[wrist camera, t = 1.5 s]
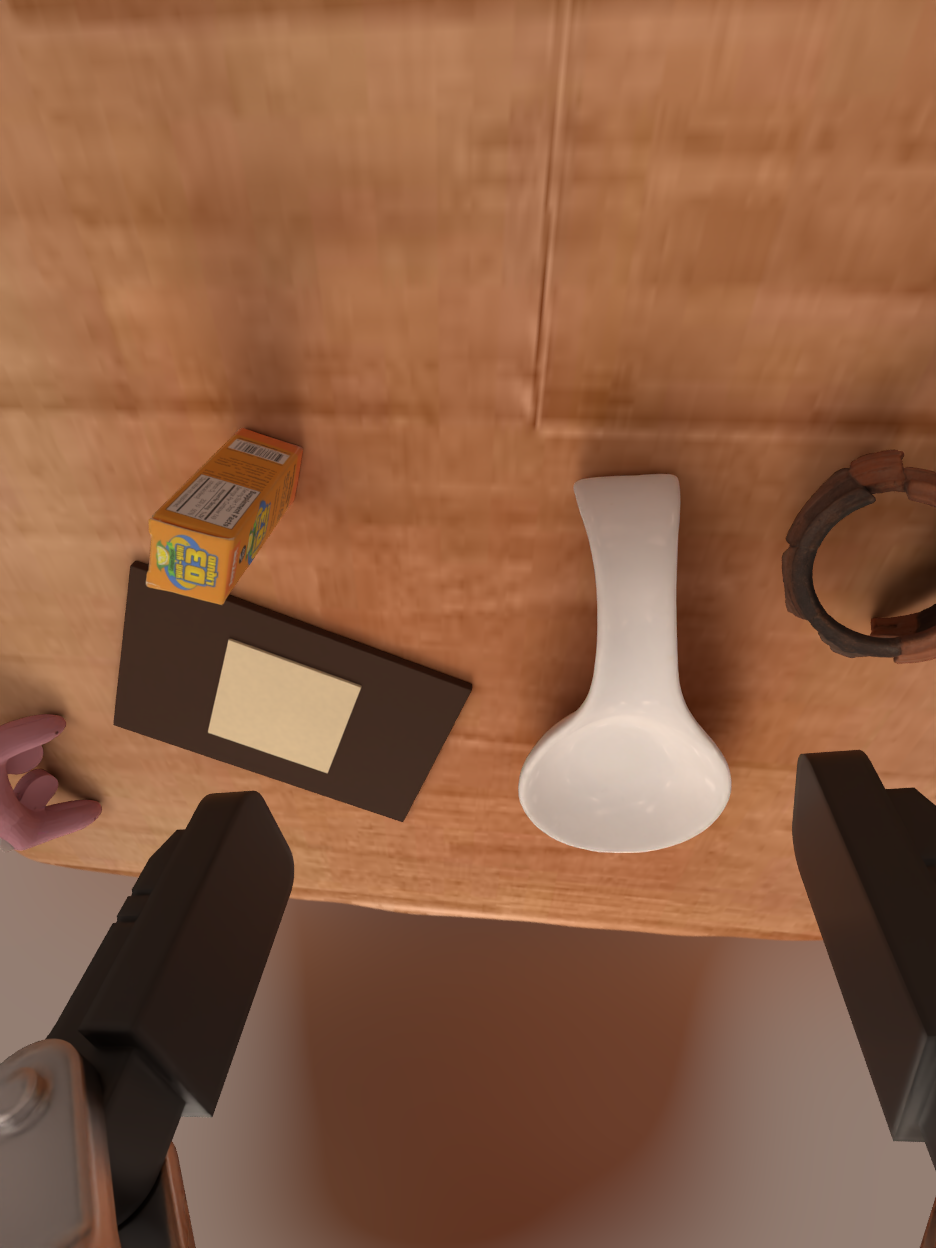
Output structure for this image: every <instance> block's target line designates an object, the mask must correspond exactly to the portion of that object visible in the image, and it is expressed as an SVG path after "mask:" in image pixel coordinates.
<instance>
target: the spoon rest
mask: <svg viewBox="0 0 936 1248" xmlns="http://www.w3.org/2000/svg"><path fill="white" fill-rule="evenodd" d="M574 492H575V496H576V500H577V503H578V507H579V510H580V513H581V516H582V519H583V522H584V525H585V528H586V531H587V535H588V539H589V543H590V547H591V552H592V558H593V564H594V571H595V580H596V589H597V647H596V659H595V668H594V674H593V679H592V684H591V687H590V690H589V693H588V695H587V697H586V699H585V701H584V702H583V704H582V705H581V706H580V708H579V709H578V710H576V711H575V712H573V713H571V714H570V715H568V716H566V717H565V718H563V719H562V720H560V721H559V722H557V723H556V724H555V725H554V726H553V727H551V728H550V729H549V730H548V731H547V732H546V733H545V734H544V735H543V736H542V737H541V739H540V740H539V741H538V742H537V743H536V745H535V746H534V747H533V749H532V750H531V752H530V753H529V755H528V757H527V758H526V760H525V762H524V765H523V767H522V770H521V773H520V778H519V785H518V792H519V799H520V803H521V805H522V807H523V809H524V811H525V813H526V814H527V816H528V817H529V819H530V820H531V821H532V822H533V823H534V824H535V825H536V826H537V827H538V828H539V829H540V830H542V831H543V832H544V833H546V834H547V835H549V836H550V837H552V838H554V839H556V840H558V841H560V842H562V843H565V844H567V845H570V846H573V847H577V848H582V849H586V850H590V851H598V852H612V853H636V852H647V851H653V850H658V849H662V848H666V847H670V846H673V845H676V844H679V843H682V842H684V841H687V840H689V839H691V838H693V837H694V836H696V835H698V834H700V833H701V832H702V831H704V830H705V829H707V828H708V827H709V826H710V825H711V824H712V823H713V822H714V821H715V820H716V819H717V818H718V817H719V815H720V814H721V813H722V811H723V810H724V808H725V806H726V804H727V802H728V800H729V797H730V793H731V775H730V770H729V767H728V764H727V762H726V759H725V757H724V756H723V754H722V752H721V751H720V749H719V748H718V747H717V745H716V744H715V743H714V741H713V740H712V739H711V738H710V737H709V735H708V734H707V733H706V732H705V731H704V730H703V729H702V727H701V726H700V725H699V724H698V722H697V721H696V720H695V718H694V717H693V715H692V714H691V712H690V711H689V709H688V707H687V705H686V703H685V700H684V698H683V695H682V691H681V687H680V682H679V673H678V652H677V608H676V582H677V554H678V531H679V524H680V504H681V502H680V486H679V480H678V478H677V477H676V476H675V475H671V474H647V475H630V476H606V477H594V478H586V479H581V480H579V481H576V482H575V484H574Z"/></svg>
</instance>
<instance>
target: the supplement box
mask: <svg viewBox="0 0 936 1248" xmlns="http://www.w3.org/2000/svg"><path fill="white" fill-rule="evenodd" d="M302 453H303V448H302V447H300V446H297V445H293V444H290V443H287V442H284V441H281V440H278V439H274V438H271V437H268V436H265V435H262V434H259V433H256V432H253V431H250V430H247V429H244V428H241V429H239V430H238V431H237V432H236V433H235V434H234V435H233V436H232V437H231V438H230V439H229V440H228V441H227V442H226V443H225V444H224V445H223V446H222V447H221V448H220V449H219V450H218V451H217V452H216V453H215V454H214V455H213V456H212V457H211V458H210V459H209V460H208V461H207V462H206V463H205V464H204V465H203V466H202V467H201V468H200V469H199V470H198V471H197V472H196V473H195V474H194V475H193V476H192V477H191V478H190V479H189V480H188V481H187V482H186V483H185V484H184V485H183V486H182V487H181V488H180V489H179V490H178V491H177V492H176V493H175V494H174V495H173V496H172V497H171V498H170V499H168V500H167V501H166V502H165V503H164V504H163V505H162V506H161V507H160V508H159V509H158V510H157V511H156V512H155V513H154V514H153V516H152V518H150V519H149V533H150V534H151V546H150V558H149V570H148V572H147V578H146V585H147V587H150V588H154V589H159V590H164V591H169V592H174V593H177V594H181V595H185V596H189V597H193V598H196V599H200V600H204V601H208V602H212V603H216V604H220V605H222V604H224V602H225V600H226V598H227V597H228V595H229V594H230V592H231V591H232V589H233V588H234V586H235V585H236V583H237V582H238V580H239V579H240V577H241V576H242V575H243V573H244V572H245V570H246V569H247V568H248V566H249V565H250V564H251V562H252V561H253V559H254V558H255V556H256V555H257V553H258V552H259V550H260V549H261V547H262V546H263V544H264V543H265V541H266V540H267V538H268V537H269V536H270V534H271V533H272V531H273V530H274V528H275V527H276V525H277V524H278V522H279V521H280V519H281V518H282V517H283V515H284V514H285V512H286V511H287V509H288V508H289V506H290V505H291V504H292V503H293V502H294V499H295V494H296V489H297V484H298V478H299V472H300V466H301V459H302Z"/></svg>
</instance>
